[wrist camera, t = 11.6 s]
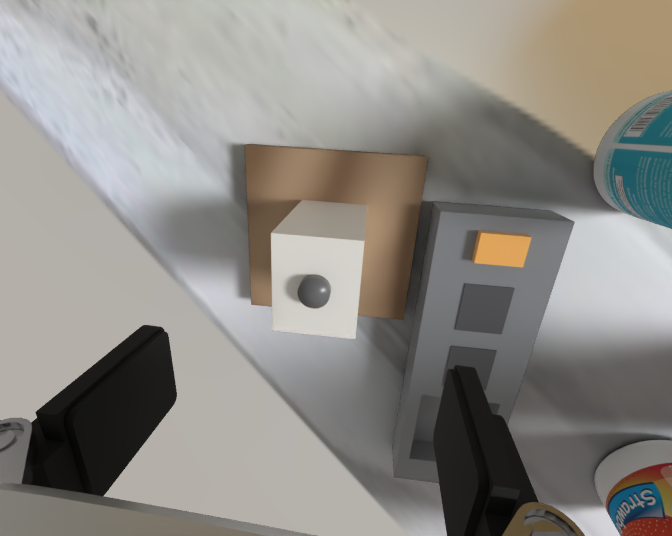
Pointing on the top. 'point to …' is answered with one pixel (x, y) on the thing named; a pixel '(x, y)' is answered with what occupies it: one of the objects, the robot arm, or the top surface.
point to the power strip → (474, 314)
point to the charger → (318, 269)
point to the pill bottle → (639, 161)
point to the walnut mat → (341, 187)
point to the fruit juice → (638, 488)
